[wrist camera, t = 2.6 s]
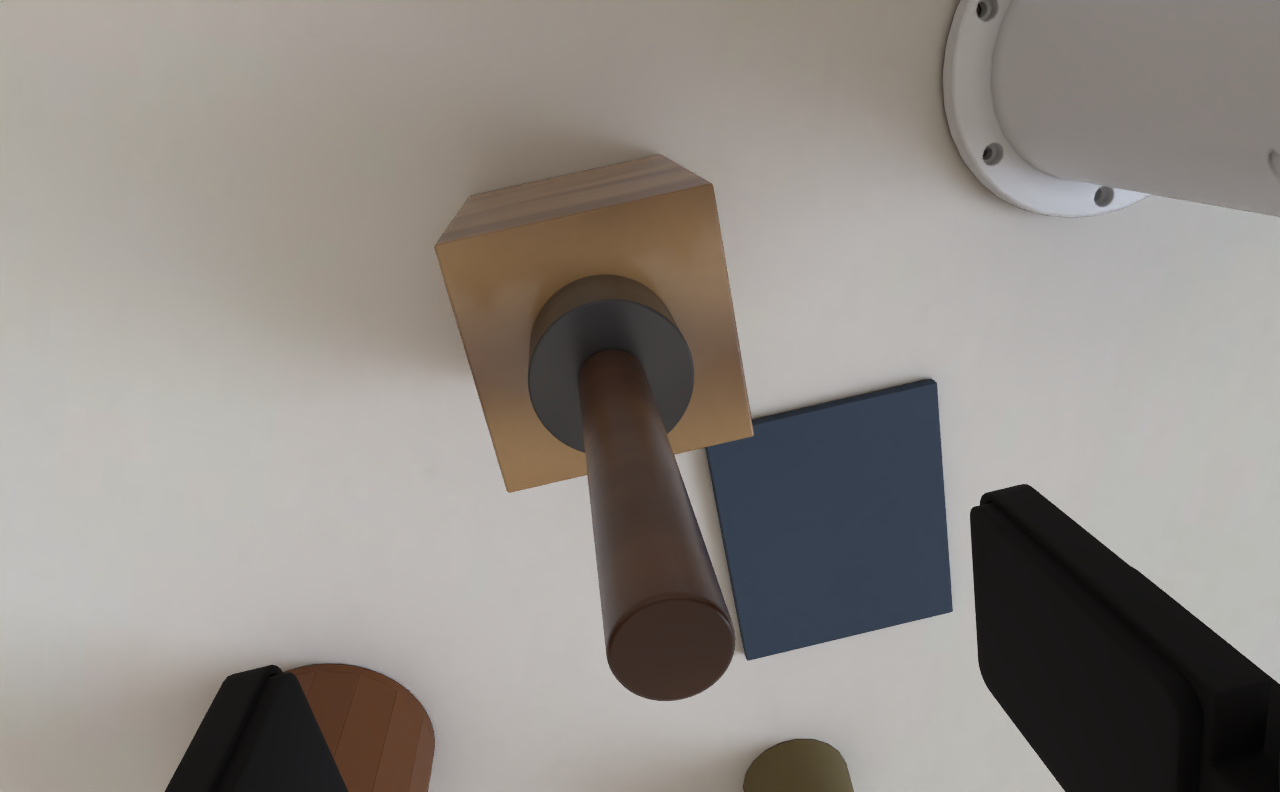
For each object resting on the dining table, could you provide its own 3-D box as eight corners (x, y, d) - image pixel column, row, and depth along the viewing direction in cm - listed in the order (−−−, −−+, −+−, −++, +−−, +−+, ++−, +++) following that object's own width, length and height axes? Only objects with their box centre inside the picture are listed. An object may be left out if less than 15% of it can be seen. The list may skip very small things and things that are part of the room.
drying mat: (702, 431, 38) (704, 436, 37) (931, 377, 38) (937, 382, 37) (744, 653, 42) (747, 661, 42) (947, 605, 43) (953, 611, 42)
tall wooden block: (468, 196, 33) (432, 245, 23) (661, 153, 33) (713, 182, 23) (518, 378, 36) (507, 494, 26) (695, 337, 36) (755, 437, 26)
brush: (513, 292, 23) (471, 552, 10) (662, 259, 23) (808, 473, 10) (549, 430, 25) (553, 805, 12) (689, 397, 25) (844, 735, 12)
